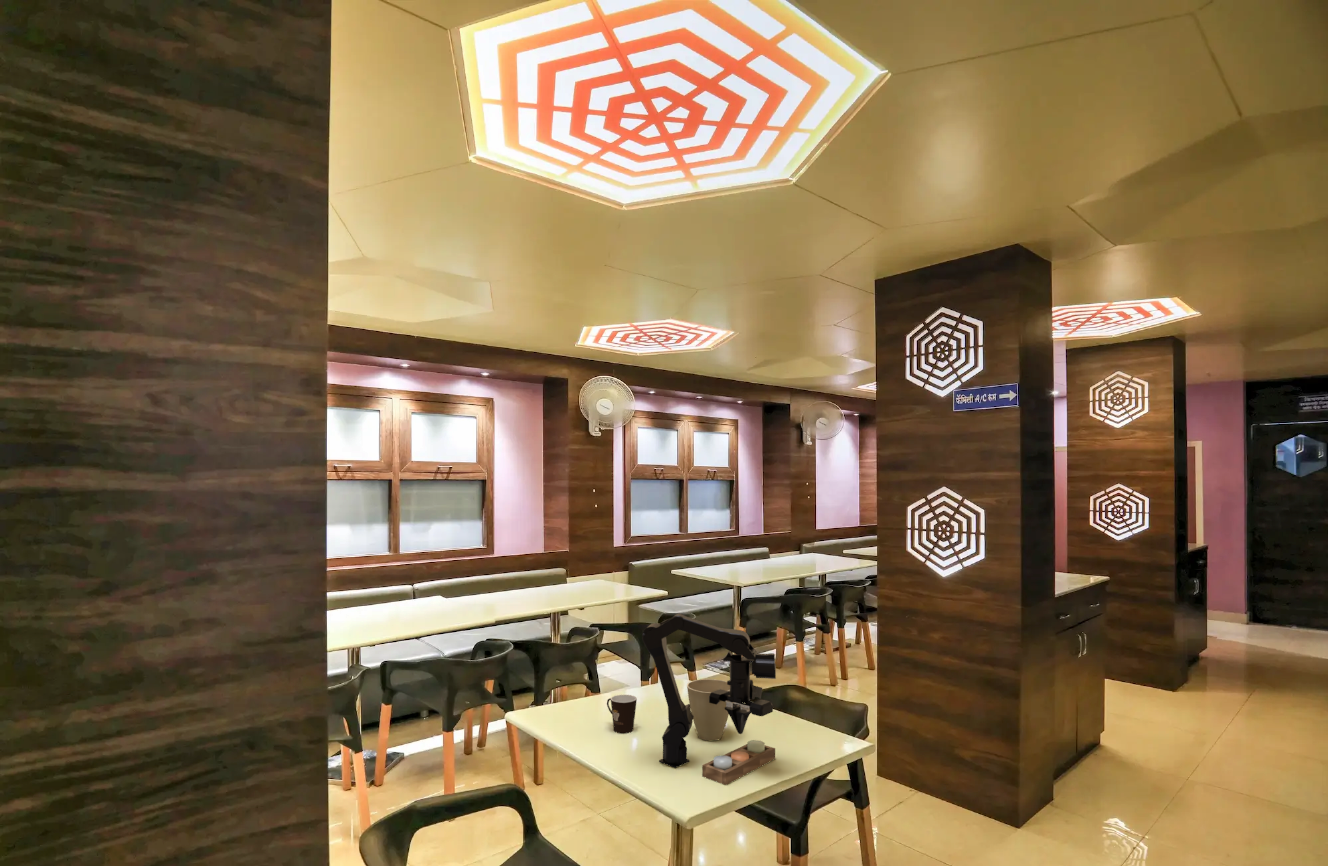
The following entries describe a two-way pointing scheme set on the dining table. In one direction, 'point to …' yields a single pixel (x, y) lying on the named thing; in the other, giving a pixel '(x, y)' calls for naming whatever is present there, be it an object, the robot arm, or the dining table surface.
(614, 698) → the coffee mug
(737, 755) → the terracotta button
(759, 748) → the sage button
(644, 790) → the dining table surface
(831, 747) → the dining table surface
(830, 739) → the dining table surface
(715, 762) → the slate button
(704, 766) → the brown wooden flat tray
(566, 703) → the dining table surface
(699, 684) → the plant pot
